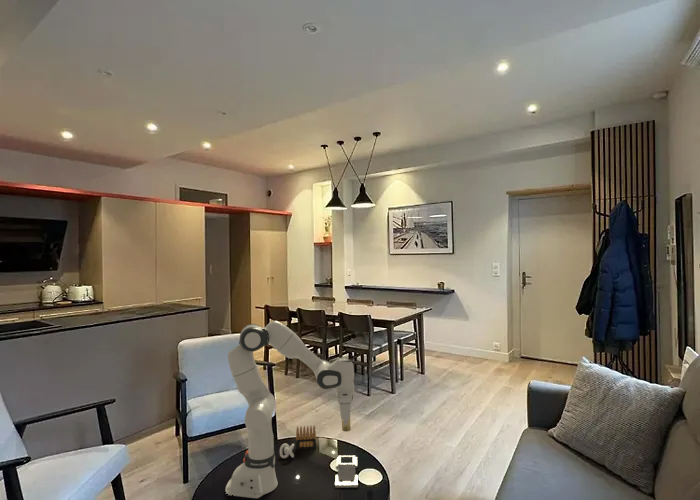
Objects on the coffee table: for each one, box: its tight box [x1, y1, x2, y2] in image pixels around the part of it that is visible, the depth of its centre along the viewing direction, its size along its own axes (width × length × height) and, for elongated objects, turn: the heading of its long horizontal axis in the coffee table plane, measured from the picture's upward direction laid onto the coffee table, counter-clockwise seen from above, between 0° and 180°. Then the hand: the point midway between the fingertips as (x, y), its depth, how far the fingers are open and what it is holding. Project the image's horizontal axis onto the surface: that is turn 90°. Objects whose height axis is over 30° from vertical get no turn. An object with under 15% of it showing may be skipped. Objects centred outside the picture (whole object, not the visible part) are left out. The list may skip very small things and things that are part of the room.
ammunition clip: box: [295, 425, 317, 450], centre depth 211 cm, size 11×2×12 cm, turn 96°
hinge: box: [334, 455, 359, 489], centre depth 187 cm, size 10×24×6 cm, turn 0°
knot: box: [279, 443, 296, 459], centre depth 203 cm, size 8×8×6 cm
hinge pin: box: [341, 418, 352, 432], centre depth 187 cm, size 4×4×9 cm
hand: (346, 422), depth 187 cm, fingers closed on hinge pin, 4 cm apart
